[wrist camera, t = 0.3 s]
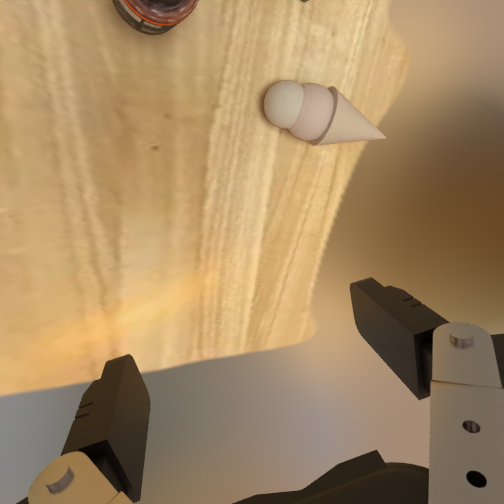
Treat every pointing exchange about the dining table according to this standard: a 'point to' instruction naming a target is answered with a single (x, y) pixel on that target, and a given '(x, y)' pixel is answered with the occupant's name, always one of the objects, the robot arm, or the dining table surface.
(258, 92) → the dining table surface
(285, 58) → the dining table surface
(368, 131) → the ice cream cone
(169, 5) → the supplement bottle
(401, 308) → the robot arm
